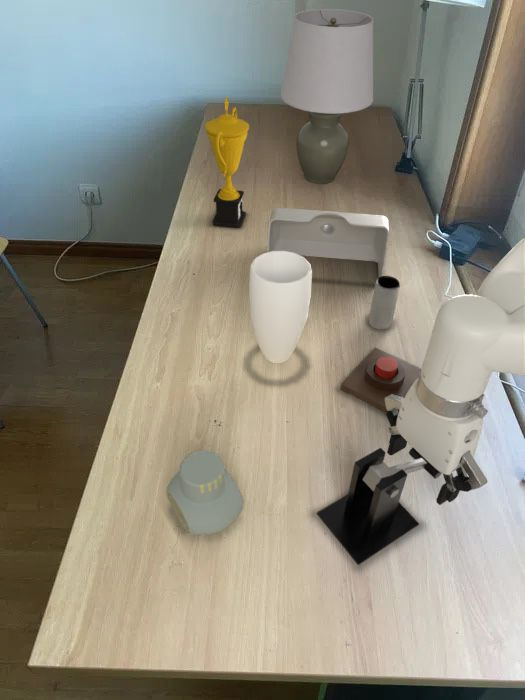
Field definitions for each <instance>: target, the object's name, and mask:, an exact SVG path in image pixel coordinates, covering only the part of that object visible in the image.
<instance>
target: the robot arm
mask: <svg viewBox="0 0 525 700" xmlns="http://www.w3.org/2000/svg"><path fill="white" fill-rule="evenodd" d="M434 320H435V322H434V324H433V327H432V332H431V335H430V338H429V340H428V341H429V342H428V344H427V348H426V351H425V355H424V359H423V362H422V365H421V372H420V376H419V378H417V379H416V380H415V382H414V383H413V385H412V386H411V388H410V389H409V391H408V392H407V394H406V396H405V398H402V397H399V396H396V395H393V394H391V395H389V396H387V397H386V398H385V405H386V409H387V412H385V416H386V418H387V421H388V423H389V427H388V432H389V433H390V438H389V441H388V447H387V451H386V453H387V454H388V455H389V456H393V455H395V454H397V453H399V452H400V451H402V450H403V449H405V448H407V445H408V444H409V445H410V446H411V448H414V449H415V450H416V451H417V452H418V453H420V454H421V455H422V456H423V457H424V458H425V459H426V460H427V461H428V462H429V463H430V464H431V465H432V466H433V467H435V468H436V469H437V470H438V471H440V472H441V474H442V476H443V479H444V482H445V483H443V484H442V485H441V487H440V489H439V492H438V495H437V497H436V500H435V501H436V504H437V505H439V506H441V505H443V504H444V503H446V502H448V503H453V501H455V500H456V499H457V497H458V496H459V494H460V492H466V493H468V492H470V491H474V490H478V489H480V488H482V487H483V486H486V484H488V479H487V477H486V476H485V474H484V472H483V471H482V469H481V468H480V466H479V464H478V462H477V461H476V460H475V458H474V457H475V453H476V451H477V448H478V445H479V442H480V437H481V434H482V429H483V423H484V422H483V421H484V418H485V417H486V415H487V414H488V413H489V410H488V409H487V408H486V407H485V406H484V404H483V399H484V397H485V394H484V393H485V391H486V389H487V386H488V383H489V381H490V379H491V377H492V374H493V373H495V372H496V373H502V374H509V375H517V376H523V377H525V237H523V239H521V240H520V241H519V242H518V243H517V244H515V246H513V247H512V249H510V251H508V253H507V254H505V256H503V258H501V260H500V261H498V263H497V264H496V265H495V266H494V267H493V268H492V269H491V271H490V272H489V273H488V275H486V276H485V278H484V280H483V281H482V282H481V285H480V286H479V289H478V291H477V294H460V295H455V296H452V297H450V298H449V299H447V300H445V301H444V302H443V303H442V304H441V306H440V308H439V309H438V312H437V314H436V317H435V319H434ZM455 471H456V475H455V476H454V474H453V473H454V472H455Z"/></svg>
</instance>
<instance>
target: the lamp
mask: <svg viewBox="0 0 525 700" xmlns="http://www.w3.org/2000/svg"><path fill="white" fill-rule="evenodd" d="M284 67H285V68H284V72H283V78H282V83H281V89H280V93H279V94H280V99H281V100H282V102H283V103H285V104H286V105H288V106H289V107H292V108H295V109H297V110H301V111H305V112H307V113H308V116H309V121H308V122H306V123H305V124H304V125H303V126H302V127H301V129H300V130H299V132H298V134H297V136H296V142H295V143H296V144H295V145H296V155H297V159H298V162H299V165H300V168H301V171H302V172H303V177H304V179H305V180H306V181H307V182H309V183H313V184H317V185H318V184H319V185H320V184H321V185H324V184H329V183H332V182H333V181H335V179H336V176H337V174H338V173H339V171H340V170H341V168H342V166H343V164H344V162H345V159H346V157H347V153H348V151H349V143H350V141H349V140H350V139H349V135H348V132H347V130H346V129H345V127H344V125H342V124H340V123H339V121H340V119H341V117H342V115H343V114H349V113H355V112H359V111H362V110H364V109H367V108H368V107H370V106H371V105H372V104H373V102H374V18H373V16H371V15H369V14H367V13H363V12H360V11H355V10H349V9H340V8H314V9H307V10H303V11H299V12H297V13H295V14H294V15H293V22H292V28H291V34H290V40H289V45H288V50H287V55H286V62H285V66H284Z"/></svg>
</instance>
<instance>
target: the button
mask: <svg viewBox="0 0 525 700" xmlns="http://www.w3.org/2000/svg"><path fill="white" fill-rule="evenodd" d="M397 368H398V364H397V362H396V361H395V360H394V359H392V358H390V357H381V358H379V359H378V360H377V362H376V367H375V372H376V374H377V375H378V376H380V377H382V378H387V379H389V378H392V377H394V376H395V375H396V372H397Z"/></svg>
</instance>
